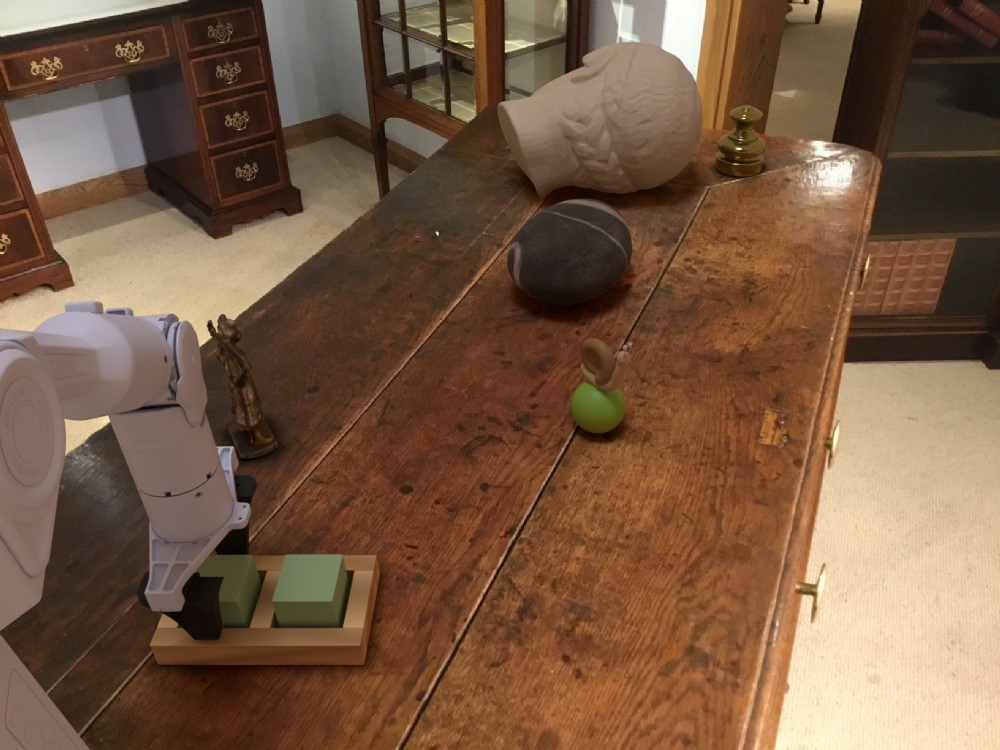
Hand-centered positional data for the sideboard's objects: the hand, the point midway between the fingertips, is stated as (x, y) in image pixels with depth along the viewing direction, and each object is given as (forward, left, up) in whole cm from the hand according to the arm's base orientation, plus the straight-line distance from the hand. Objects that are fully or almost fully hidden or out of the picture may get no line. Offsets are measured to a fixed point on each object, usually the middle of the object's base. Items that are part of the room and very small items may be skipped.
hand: (222, 594), depth 67 cm
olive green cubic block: (0, 0, -3) cm, 3 cm away
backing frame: (+2, -3, -3) cm, 5 cm away
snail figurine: (+37, -12, -3) cm, 39 cm away
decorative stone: (+59, +6, -3) cm, 59 cm away
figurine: (+15, +15, -3) cm, 22 cm away
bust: (+87, +20, -3) cm, 89 cm away
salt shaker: (+104, +4, -3) cm, 104 cm away
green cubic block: (+4, -6, -3) cm, 8 cm away
